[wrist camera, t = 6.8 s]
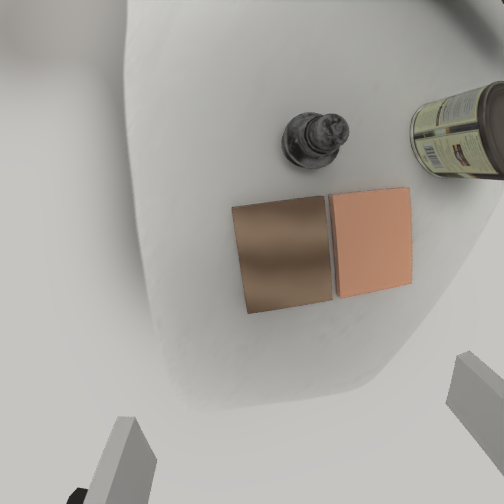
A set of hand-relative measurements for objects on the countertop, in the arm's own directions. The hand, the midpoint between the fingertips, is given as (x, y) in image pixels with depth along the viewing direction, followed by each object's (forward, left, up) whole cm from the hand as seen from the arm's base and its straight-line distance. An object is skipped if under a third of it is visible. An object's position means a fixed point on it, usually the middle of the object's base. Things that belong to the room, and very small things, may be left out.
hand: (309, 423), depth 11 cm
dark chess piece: (-12, +7, -26) cm, 30 cm away
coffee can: (-12, +26, -26) cm, 39 cm away
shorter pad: (0, +3, -26) cm, 26 cm away
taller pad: (0, +14, -26) cm, 30 cm away
